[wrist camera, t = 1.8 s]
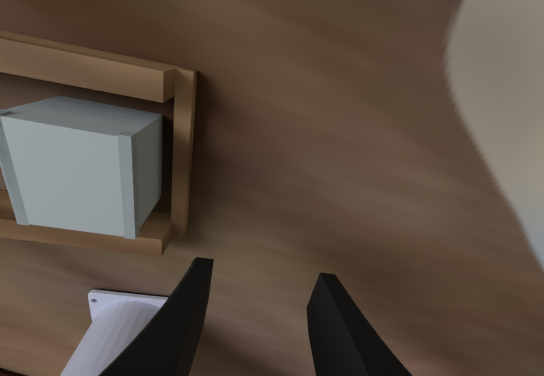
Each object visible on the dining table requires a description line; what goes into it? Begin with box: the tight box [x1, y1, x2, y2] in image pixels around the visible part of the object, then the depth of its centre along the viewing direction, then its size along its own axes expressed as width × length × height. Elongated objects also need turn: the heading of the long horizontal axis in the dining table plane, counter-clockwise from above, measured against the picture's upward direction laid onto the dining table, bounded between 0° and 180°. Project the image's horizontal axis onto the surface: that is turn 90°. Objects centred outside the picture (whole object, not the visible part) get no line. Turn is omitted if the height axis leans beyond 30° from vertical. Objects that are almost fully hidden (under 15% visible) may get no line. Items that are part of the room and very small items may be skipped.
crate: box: [0, 95, 162, 239], centre depth 16 cm, size 6×6×5 cm
